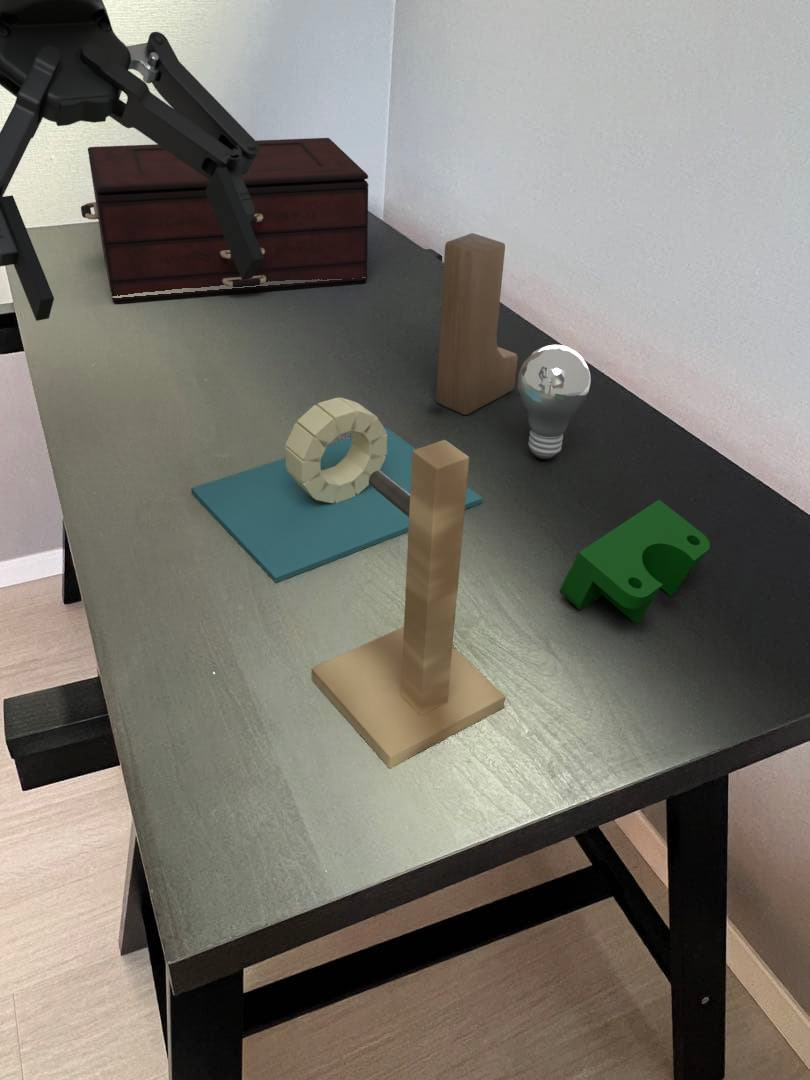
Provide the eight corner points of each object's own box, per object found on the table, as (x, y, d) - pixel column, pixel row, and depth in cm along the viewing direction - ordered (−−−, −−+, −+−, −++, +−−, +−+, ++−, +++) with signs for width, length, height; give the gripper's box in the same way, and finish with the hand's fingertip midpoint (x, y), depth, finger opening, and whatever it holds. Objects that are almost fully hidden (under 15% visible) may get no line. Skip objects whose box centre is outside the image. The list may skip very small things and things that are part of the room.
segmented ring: (303, 515, 85) (300, 427, 80) (286, 499, 87) (283, 412, 82) (386, 485, 89) (388, 400, 84) (368, 471, 91) (369, 387, 86)
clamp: (609, 661, 78) (622, 618, 70) (556, 613, 81) (562, 566, 73) (705, 569, 81) (727, 518, 73) (651, 526, 84) (667, 471, 76)
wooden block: (484, 377, 110) (498, 221, 99) (515, 390, 108) (533, 232, 97) (433, 403, 104) (443, 241, 94) (465, 417, 102) (479, 253, 91)
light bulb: (551, 483, 92) (568, 371, 85) (494, 457, 96) (507, 347, 88) (591, 457, 96) (610, 348, 89) (535, 433, 100) (550, 326, 93)
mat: (275, 583, 78) (275, 577, 78) (191, 493, 88) (190, 487, 88) (482, 503, 89) (482, 497, 88) (385, 431, 99) (385, 426, 99)
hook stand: (389, 769, 63) (400, 504, 50) (311, 679, 69) (303, 425, 57) (504, 707, 68) (540, 452, 55) (421, 629, 74) (436, 385, 61)
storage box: (97, 312, 121) (77, 192, 112) (88, 251, 138) (70, 143, 129) (386, 288, 131) (389, 176, 122) (343, 234, 148) (343, 133, 140)
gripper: (197, 15, 69) (307, 280, 68) (-187, 31, 57) (-59, 356, 56) (225, -66, 62) (348, 226, 61) (-202, -67, 50) (-57, 299, 49)
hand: (155, 289), depth 58 cm, fingers open, 13 cm apart
